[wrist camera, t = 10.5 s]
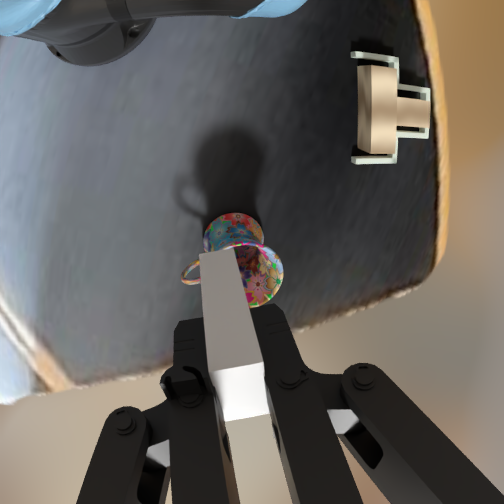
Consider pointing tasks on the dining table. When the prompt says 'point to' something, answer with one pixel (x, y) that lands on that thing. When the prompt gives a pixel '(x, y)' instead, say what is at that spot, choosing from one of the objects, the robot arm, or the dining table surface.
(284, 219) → the dining table surface
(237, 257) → the mug
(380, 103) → the t block
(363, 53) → the jig
